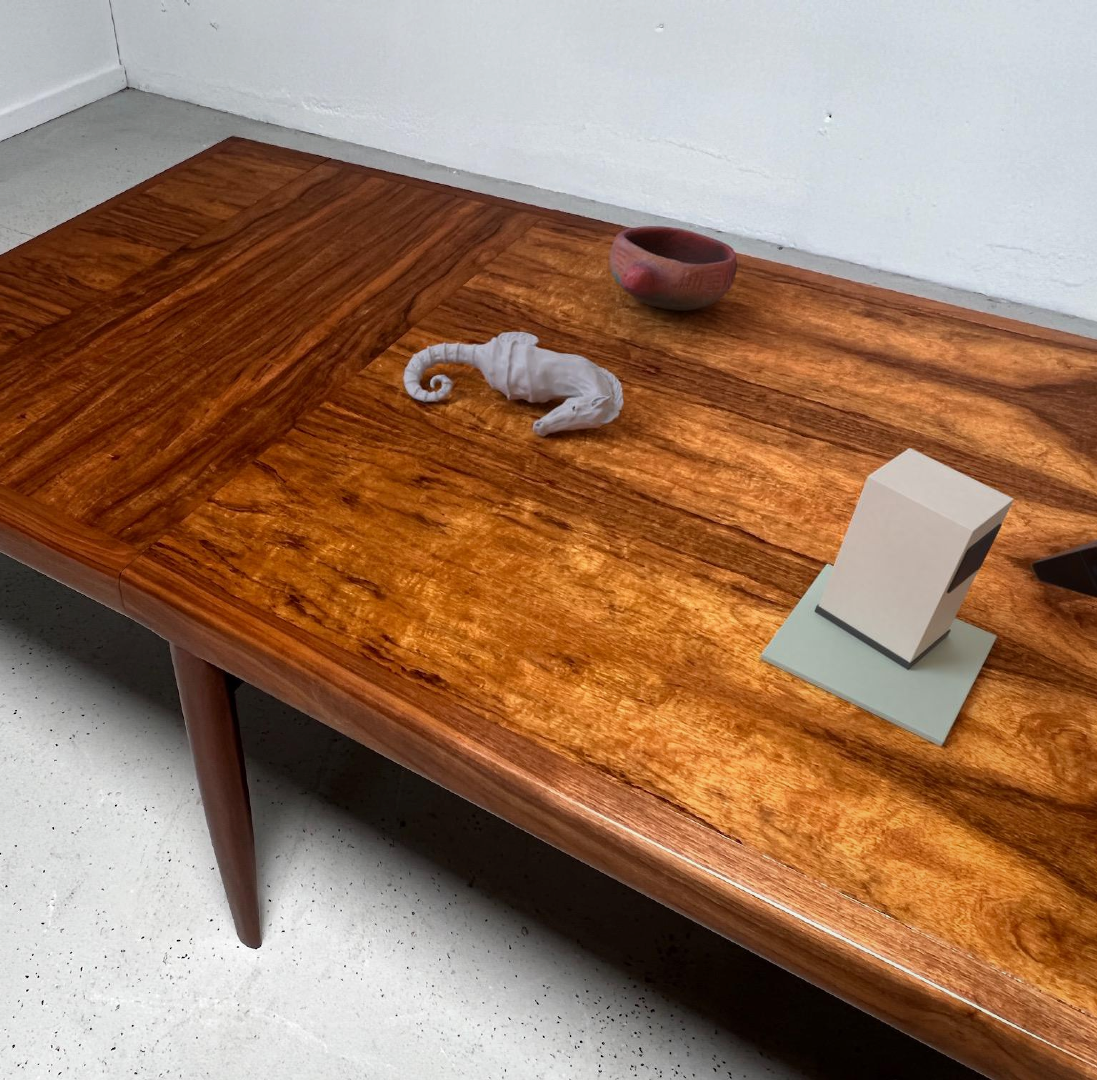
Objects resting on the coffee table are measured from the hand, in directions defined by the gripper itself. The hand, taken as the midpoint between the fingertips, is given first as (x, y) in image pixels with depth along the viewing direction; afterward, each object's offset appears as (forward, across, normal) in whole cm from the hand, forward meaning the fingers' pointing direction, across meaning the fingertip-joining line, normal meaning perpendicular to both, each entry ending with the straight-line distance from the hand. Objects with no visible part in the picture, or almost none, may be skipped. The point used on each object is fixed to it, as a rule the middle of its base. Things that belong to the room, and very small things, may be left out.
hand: (1073, 537), depth 61 cm
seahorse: (+42, 0, -22) cm, 47 cm away
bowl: (+43, -26, -24) cm, 55 cm away
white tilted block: (+15, 0, +4) cm, 15 cm away
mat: (+14, +2, +5) cm, 15 cm away
